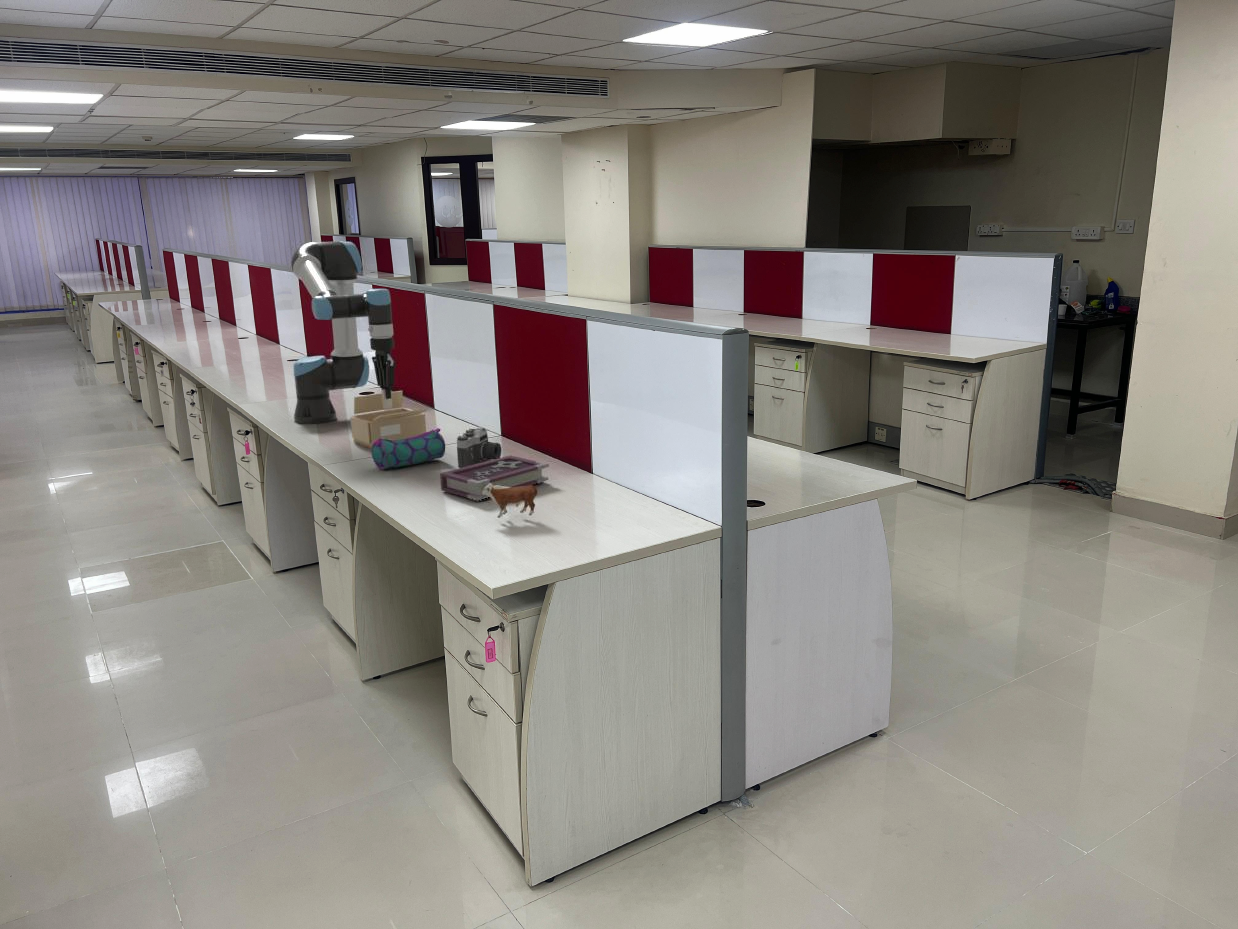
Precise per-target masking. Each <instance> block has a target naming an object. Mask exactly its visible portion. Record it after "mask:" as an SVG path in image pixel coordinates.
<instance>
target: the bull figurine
mask: <svg viewBox="0 0 1238 929" xmlns="http://www.w3.org/2000/svg"><path fill="white" fill-rule="evenodd" d="M482 494H483V495H487V496H488V497H490V498H489V499H491V501H492V502H493V503H494V504H495V505H496V506H498V507H499V513H498V515H497V516H496V517H497V519H498V518H502V517H503V515H506V514H508V510H507V506H508V505H514V506H515V507H516V508H517V507H519V506H520V504H521V503H524V505H523V507H522V509H521V510H520V514H522V513H523V514H524V512H527V509H528V507H529V508H530V511H529V513H528V516H533V514H534V513H535V507H536V503H535V502H534V500H535V498H536V496H537V495H538V489H537V488H536V487H535V486H534V485H530V486H521V487H503V486H500V485H496V484H494V485H492V484H491V483H489V484H488V485H487V486H486V487H485V489H484V491H483V492H482Z"/></svg>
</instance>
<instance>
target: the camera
mask: <svg viewBox="0 0 1238 929" xmlns="http://www.w3.org/2000/svg"><path fill="white" fill-rule="evenodd" d="M456 451H457V455H456V456H457V468H458V469H459V468H463V467H466V466H470V465H474V464H478V463H481V462H484V461H485V460H486V461H490V460H494V459H498V458H501V455H502V446H501V444H500V443H499V442H490V441H489V436H488V430H487V429H485V427H482V426H480V427H477V428H468V429H466V430H465V432H463V433H462V434H461V435H459V436H457V438H456Z"/></svg>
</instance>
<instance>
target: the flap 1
mask: <svg viewBox="0 0 1238 929" xmlns="http://www.w3.org/2000/svg"><path fill="white" fill-rule="evenodd" d="M391 396H392V408H387V409H384V408H383V402H382V392H381V393H376V394H375V393H374V394H367V395H361V396H359V395H358V396H354V398H353V399H354V400H353V402H354V403H353V414H354V415H360V414H367V413H374V412H380V411H387V410H394V409H400V408H403V407H402V406H403V390H398V391H397V390H396V391H391Z"/></svg>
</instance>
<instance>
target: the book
mask: <svg viewBox="0 0 1238 929" xmlns="http://www.w3.org/2000/svg"><path fill="white" fill-rule="evenodd" d="M549 467H550V464H549V463H547V462H543V461H536V460H532V459H528V458H523V457H519V456H515V455H507V456H503V457H500V458H498V459H491V460H486V461H481V462H478V463H476V464H474V465H470V466H466V467H463V468H459V467H458V468H456V469H451V470H447V471H443V472H440V473H439V474H440V475H439V477H440V478H439V479H440V480H439V481H440V491H444V492H445V493H450V494H452V495H457V496H459V495H460V496H461V497H463V498H466V497H467V499H468V498H469V499H468V500H472V499H473V500H472V501H475V500H477V501H476V502H479V501H478V500H480V501H482V500H481V499H484V500H486V499H485V498H487V499H489V498H488V496H487V495H483V494H482V492H483V491H484V489H485V487H486V486H487V485H488V484H489V483H491V484H492V485H494V484H496V485H500V486H503V487H521V486H530V485H532V486H534V485H537V484H536V483H538V484H541V483H544V482H543V481H545V482H547V481H546V480H548V481H549V477H548V476H544V475H543V472H542V470H543V469H546V468H549ZM540 482H541V483H540ZM533 484H534V485H533Z"/></svg>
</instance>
